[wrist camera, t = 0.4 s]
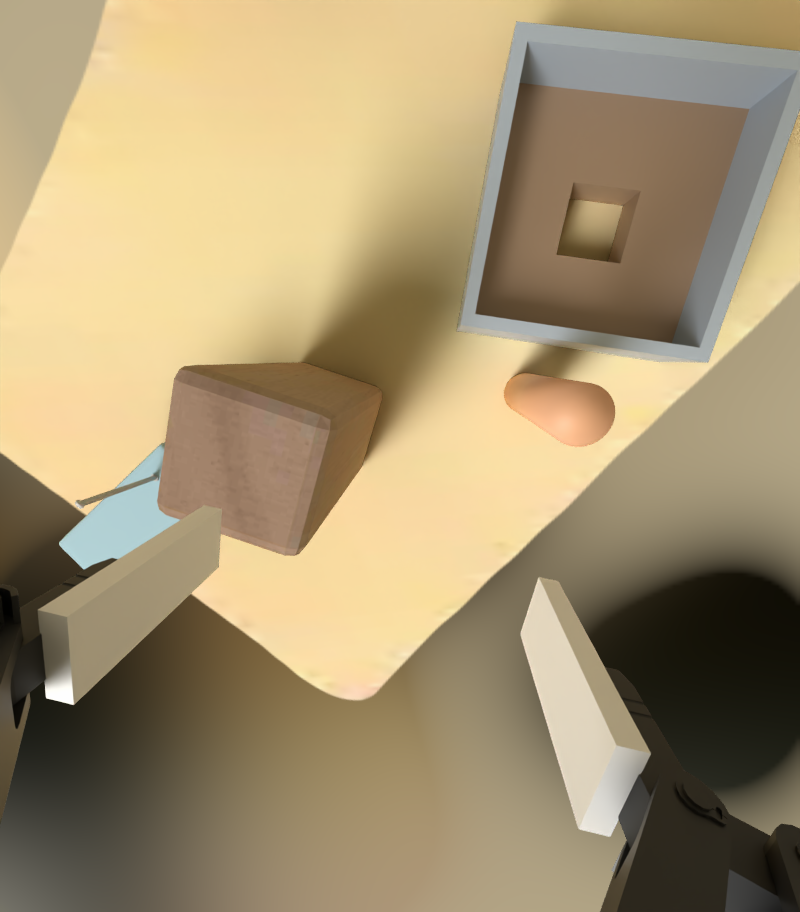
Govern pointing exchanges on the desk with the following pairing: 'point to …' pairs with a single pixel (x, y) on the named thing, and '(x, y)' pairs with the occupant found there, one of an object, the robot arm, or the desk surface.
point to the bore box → (626, 187)
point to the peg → (562, 407)
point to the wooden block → (265, 447)
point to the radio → (120, 516)
